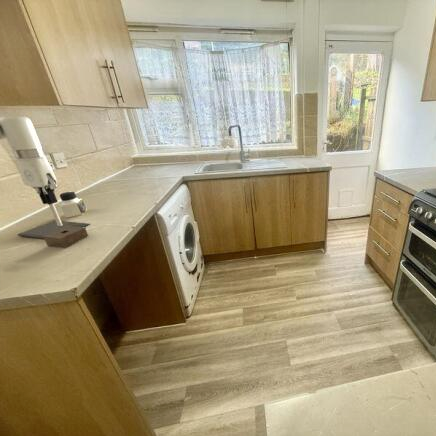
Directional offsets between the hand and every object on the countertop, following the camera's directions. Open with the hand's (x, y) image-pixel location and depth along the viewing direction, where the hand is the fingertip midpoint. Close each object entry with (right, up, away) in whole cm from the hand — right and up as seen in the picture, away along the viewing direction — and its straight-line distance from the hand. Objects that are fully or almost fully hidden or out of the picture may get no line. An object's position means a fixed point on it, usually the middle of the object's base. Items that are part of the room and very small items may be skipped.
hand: (50, 202), depth 93 cm
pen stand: (+1, -15, +7) cm, 17 cm away
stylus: (0, -9, +4) cm, 10 cm away
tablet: (-14, -11, +17) cm, 25 cm away
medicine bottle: (-20, -4, +34) cm, 40 cm away
